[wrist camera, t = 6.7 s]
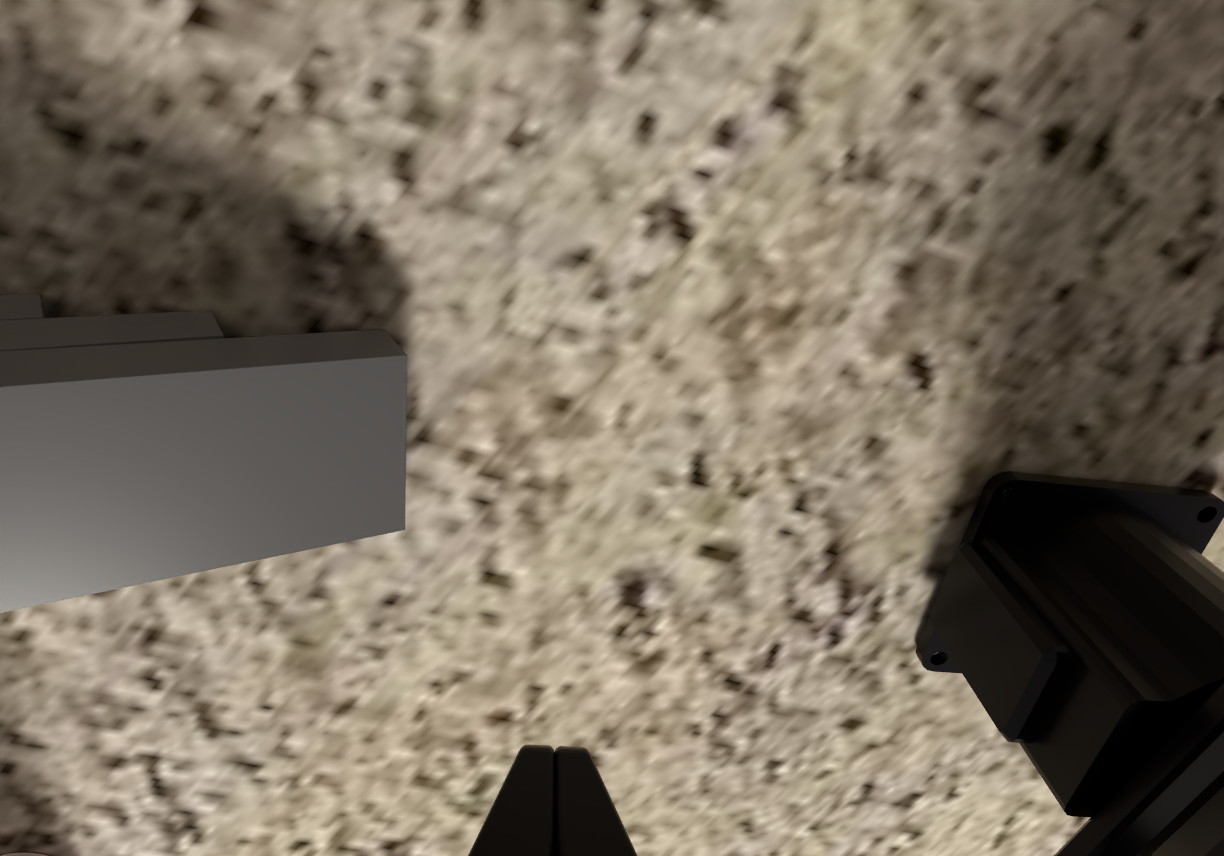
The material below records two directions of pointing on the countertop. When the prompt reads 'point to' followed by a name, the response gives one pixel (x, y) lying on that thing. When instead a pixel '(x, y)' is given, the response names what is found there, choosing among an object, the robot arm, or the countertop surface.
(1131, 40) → the countertop surface
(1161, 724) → the robot arm
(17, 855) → the smoothie
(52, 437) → the tile
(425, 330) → the countertop surface
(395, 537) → the countertop surface
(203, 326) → the tile
